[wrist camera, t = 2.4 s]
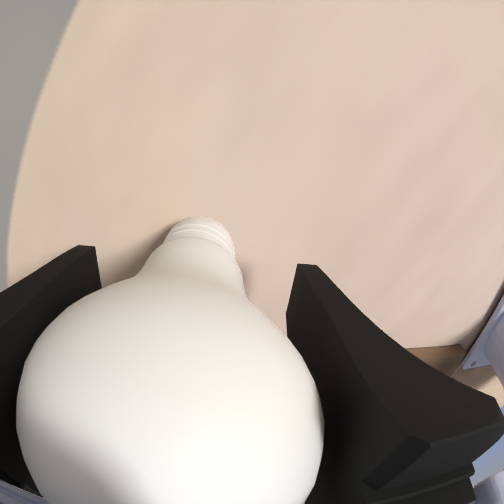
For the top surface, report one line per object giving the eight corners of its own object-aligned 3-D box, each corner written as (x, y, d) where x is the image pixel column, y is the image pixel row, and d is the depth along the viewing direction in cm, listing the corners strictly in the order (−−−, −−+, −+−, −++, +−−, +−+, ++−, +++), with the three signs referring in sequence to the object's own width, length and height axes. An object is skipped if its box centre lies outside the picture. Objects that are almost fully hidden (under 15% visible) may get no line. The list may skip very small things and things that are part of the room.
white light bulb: (175, 315, 15) (137, 564, 5) (98, 204, 12) (-70, 470, 2) (303, 269, 13) (369, 558, 4) (240, 131, 10) (244, 569, 1)
